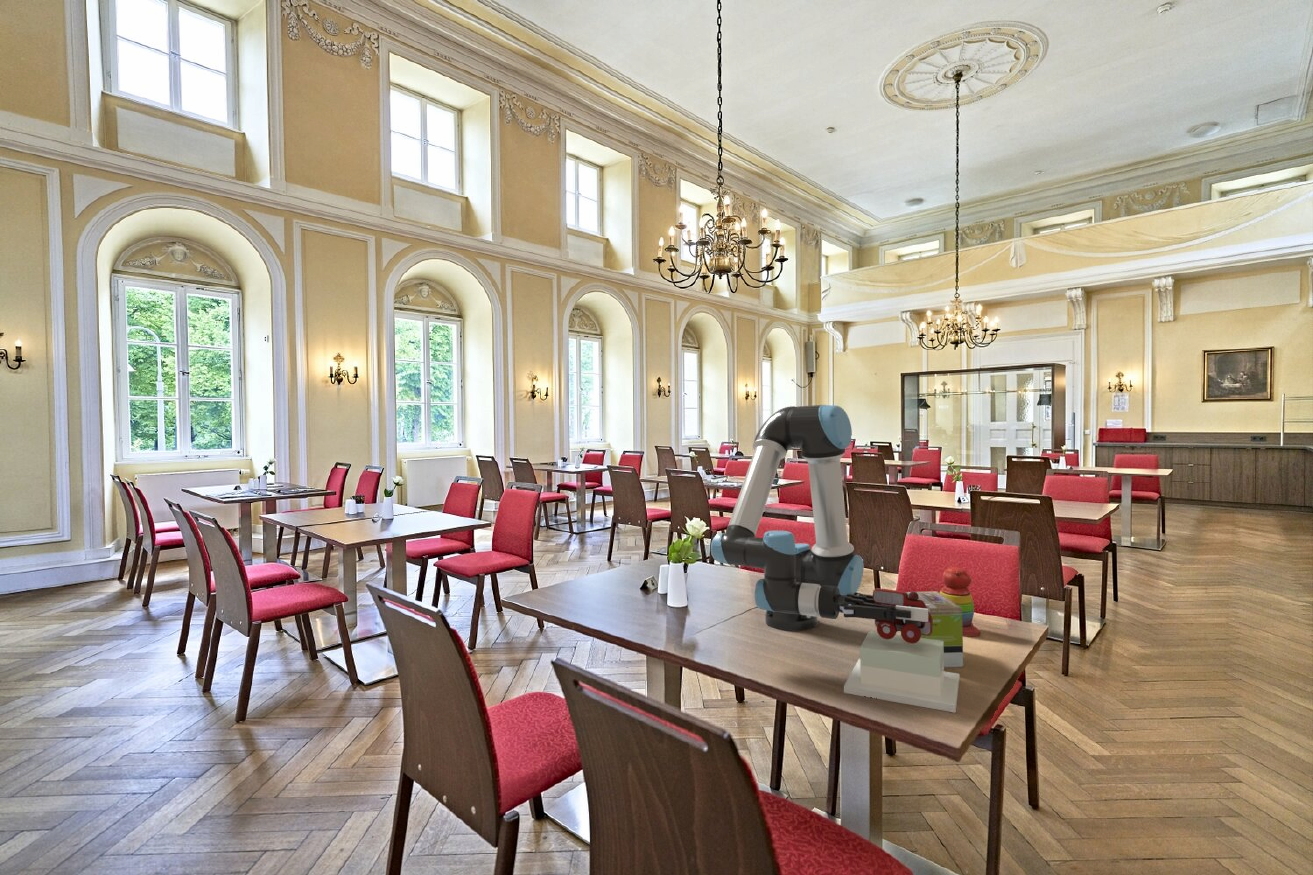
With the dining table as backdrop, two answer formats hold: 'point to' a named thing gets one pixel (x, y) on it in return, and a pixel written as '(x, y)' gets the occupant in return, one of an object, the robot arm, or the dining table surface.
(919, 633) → the toy fire truck
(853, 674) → the block on white base
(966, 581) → the stacking bear
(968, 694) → the dining table surface
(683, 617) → the dining table surface
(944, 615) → the tea box
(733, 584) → the dining table surface
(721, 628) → the dining table surface
